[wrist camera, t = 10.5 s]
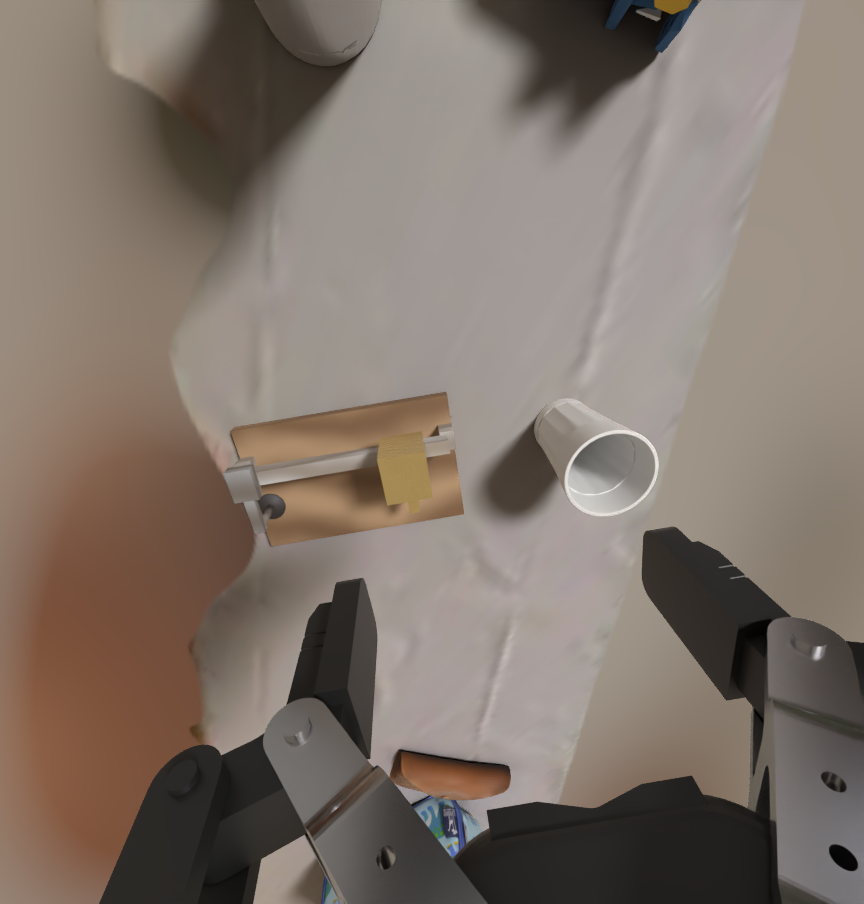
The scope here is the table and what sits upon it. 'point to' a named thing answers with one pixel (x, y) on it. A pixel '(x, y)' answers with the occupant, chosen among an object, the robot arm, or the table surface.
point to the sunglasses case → (449, 777)
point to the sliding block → (404, 470)
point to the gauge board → (339, 470)
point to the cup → (596, 458)
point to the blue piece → (656, 16)
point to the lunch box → (434, 831)
